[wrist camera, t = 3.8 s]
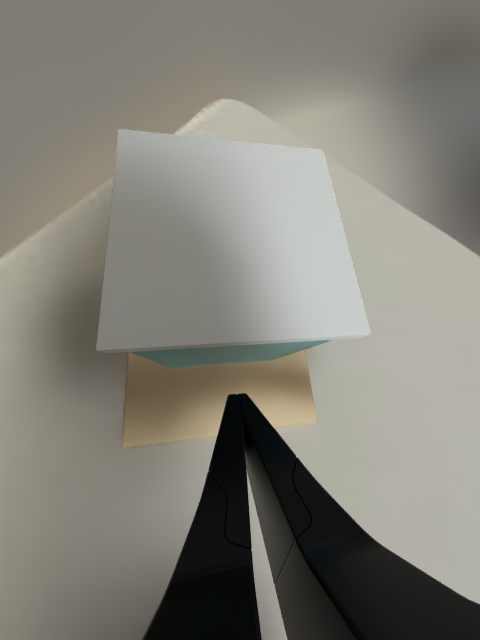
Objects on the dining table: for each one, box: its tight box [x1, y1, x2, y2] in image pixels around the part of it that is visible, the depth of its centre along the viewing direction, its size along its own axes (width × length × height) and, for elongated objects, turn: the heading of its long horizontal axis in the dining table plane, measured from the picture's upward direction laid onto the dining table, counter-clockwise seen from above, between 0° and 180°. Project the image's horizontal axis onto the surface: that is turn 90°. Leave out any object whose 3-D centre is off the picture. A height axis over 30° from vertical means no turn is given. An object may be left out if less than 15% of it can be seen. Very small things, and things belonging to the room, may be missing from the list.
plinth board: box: [122, 349, 317, 448], centre depth 17 cm, size 20×14×3 cm
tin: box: [96, 129, 371, 368], centre depth 12 cm, size 8×8×11 cm
